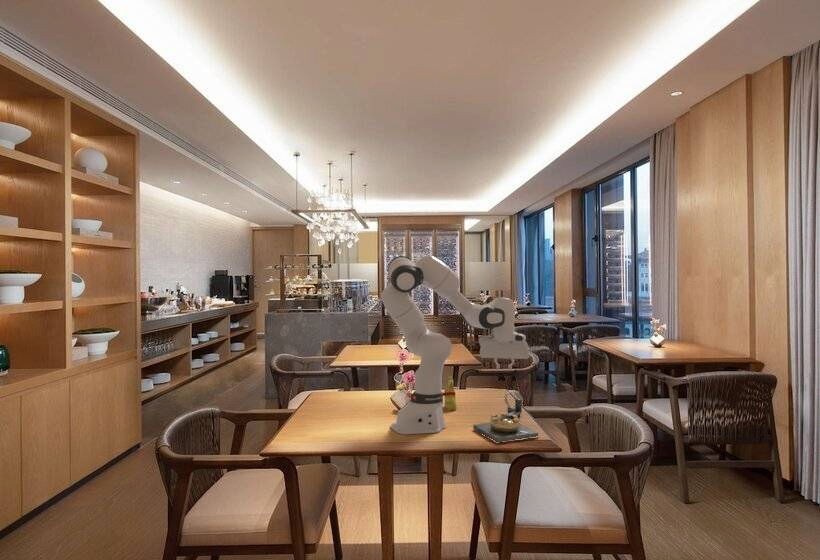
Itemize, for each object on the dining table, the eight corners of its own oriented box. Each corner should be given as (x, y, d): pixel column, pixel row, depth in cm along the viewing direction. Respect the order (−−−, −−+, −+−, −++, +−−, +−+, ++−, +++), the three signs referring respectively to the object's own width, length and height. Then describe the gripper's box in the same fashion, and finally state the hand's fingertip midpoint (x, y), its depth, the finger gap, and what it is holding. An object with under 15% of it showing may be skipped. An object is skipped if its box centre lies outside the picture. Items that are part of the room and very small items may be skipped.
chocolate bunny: (452, 404, 230) (452, 373, 230) (458, 410, 219) (458, 378, 219) (438, 405, 229) (438, 374, 229) (443, 411, 218) (443, 378, 218)
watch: (524, 417, 209) (524, 392, 209) (506, 417, 208) (506, 392, 208) (521, 413, 214) (521, 389, 214) (503, 413, 214) (503, 389, 214)
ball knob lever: (511, 434, 178) (511, 411, 178) (485, 428, 185) (485, 406, 185) (532, 422, 193) (532, 400, 193) (507, 417, 200) (507, 396, 200)
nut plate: (497, 443, 174) (497, 437, 174) (473, 429, 191) (473, 424, 191) (538, 437, 181) (538, 431, 181) (511, 424, 198) (511, 419, 198)
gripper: (478, 336, 197) (478, 369, 197) (529, 337, 193) (529, 371, 193) (479, 334, 203) (479, 366, 203) (528, 335, 199) (528, 368, 199)
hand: (504, 369), depth 198 cm, fingers open, 3 cm apart
